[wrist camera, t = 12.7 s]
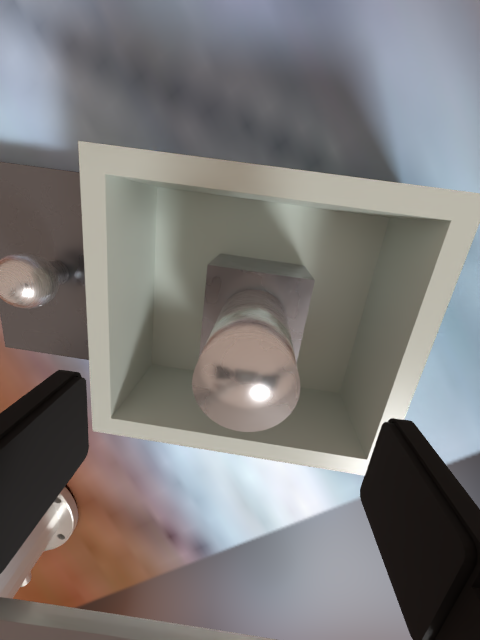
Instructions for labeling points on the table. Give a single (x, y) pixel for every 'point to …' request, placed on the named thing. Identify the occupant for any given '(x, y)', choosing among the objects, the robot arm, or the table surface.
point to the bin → (275, 245)
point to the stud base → (48, 237)
